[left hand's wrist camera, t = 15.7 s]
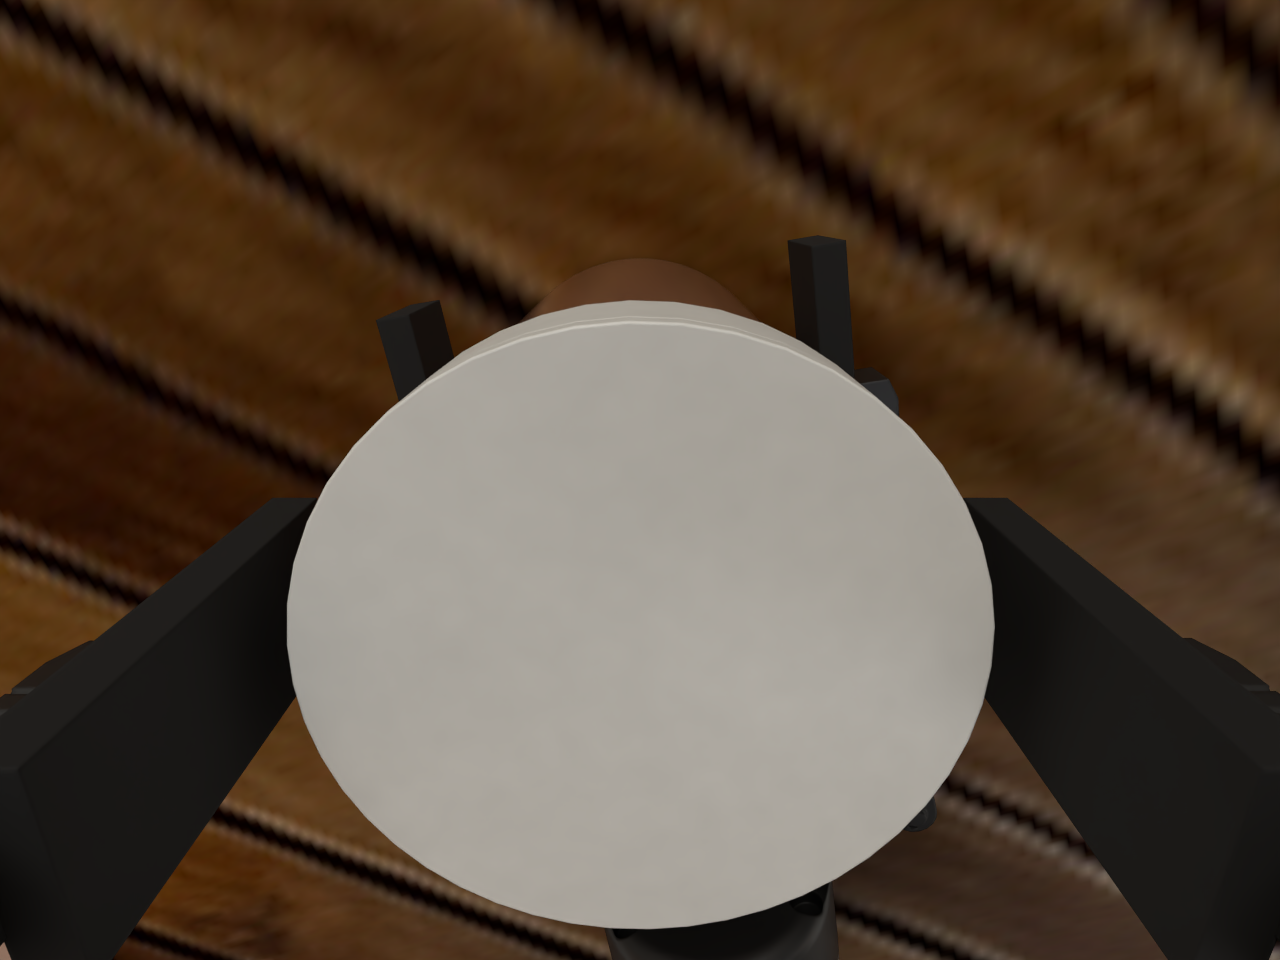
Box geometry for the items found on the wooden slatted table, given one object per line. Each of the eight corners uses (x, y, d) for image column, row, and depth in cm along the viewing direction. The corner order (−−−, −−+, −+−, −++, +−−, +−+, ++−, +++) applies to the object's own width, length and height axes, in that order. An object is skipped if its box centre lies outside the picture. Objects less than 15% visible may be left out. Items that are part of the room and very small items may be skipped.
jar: (526, 529, 27) (397, 896, 12) (486, 271, 24) (257, 372, 9) (777, 509, 26) (935, 861, 12) (770, 245, 23) (972, 309, 9)
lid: (786, 887, 14) (808, 991, 12) (286, 742, 13) (227, 833, 11) (1055, 437, 11) (1140, 485, 9) (430, 193, 10) (382, 190, 8)
